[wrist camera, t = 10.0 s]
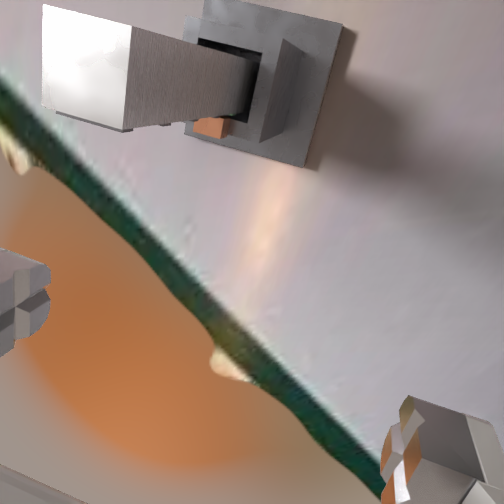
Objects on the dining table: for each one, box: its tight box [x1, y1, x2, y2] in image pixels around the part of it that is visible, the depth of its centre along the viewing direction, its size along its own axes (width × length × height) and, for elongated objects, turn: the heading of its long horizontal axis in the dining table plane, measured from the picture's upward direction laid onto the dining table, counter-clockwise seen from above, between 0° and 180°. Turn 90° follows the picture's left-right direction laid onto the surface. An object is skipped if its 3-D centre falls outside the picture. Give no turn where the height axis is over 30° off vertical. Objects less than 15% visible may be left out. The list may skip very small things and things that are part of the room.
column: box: [42, 5, 260, 133], centre depth 27 cm, size 4×4×22 cm
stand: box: [180, 0, 343, 168], centre depth 38 cm, size 14×14×14 cm
